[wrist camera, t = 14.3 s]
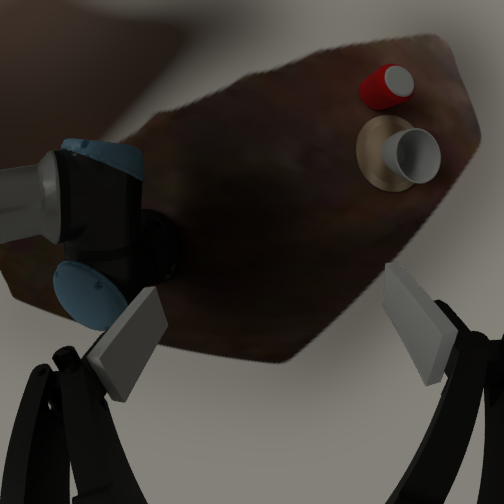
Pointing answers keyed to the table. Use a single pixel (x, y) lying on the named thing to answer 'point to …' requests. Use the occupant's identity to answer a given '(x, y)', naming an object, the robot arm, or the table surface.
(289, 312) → the table surface
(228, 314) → the table surface
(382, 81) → the beverage can
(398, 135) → the cup
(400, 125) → the plate
